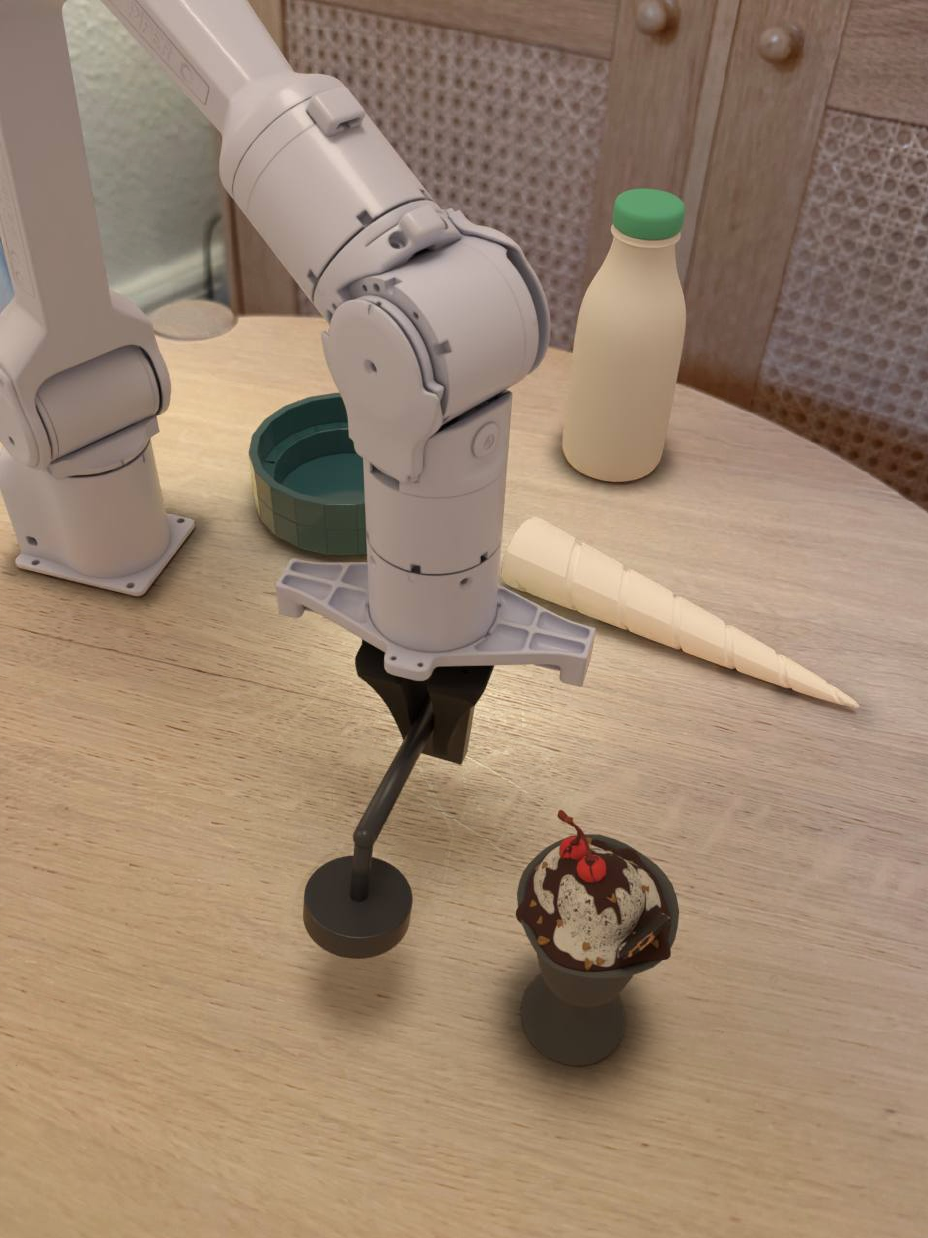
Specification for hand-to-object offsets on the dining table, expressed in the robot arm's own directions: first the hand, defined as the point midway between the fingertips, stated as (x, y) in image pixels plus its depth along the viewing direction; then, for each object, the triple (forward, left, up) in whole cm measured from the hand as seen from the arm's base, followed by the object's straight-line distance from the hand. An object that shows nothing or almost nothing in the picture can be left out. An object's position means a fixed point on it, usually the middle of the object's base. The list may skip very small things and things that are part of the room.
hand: (431, 736), depth 55 cm
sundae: (+10, -9, -7) cm, 15 cm away
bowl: (-14, +24, -6) cm, 29 cm away
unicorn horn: (+10, +18, -7) cm, 22 cm away
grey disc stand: (0, -5, -2) cm, 5 cm away
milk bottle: (+3, +36, -7) cm, 37 cm away
